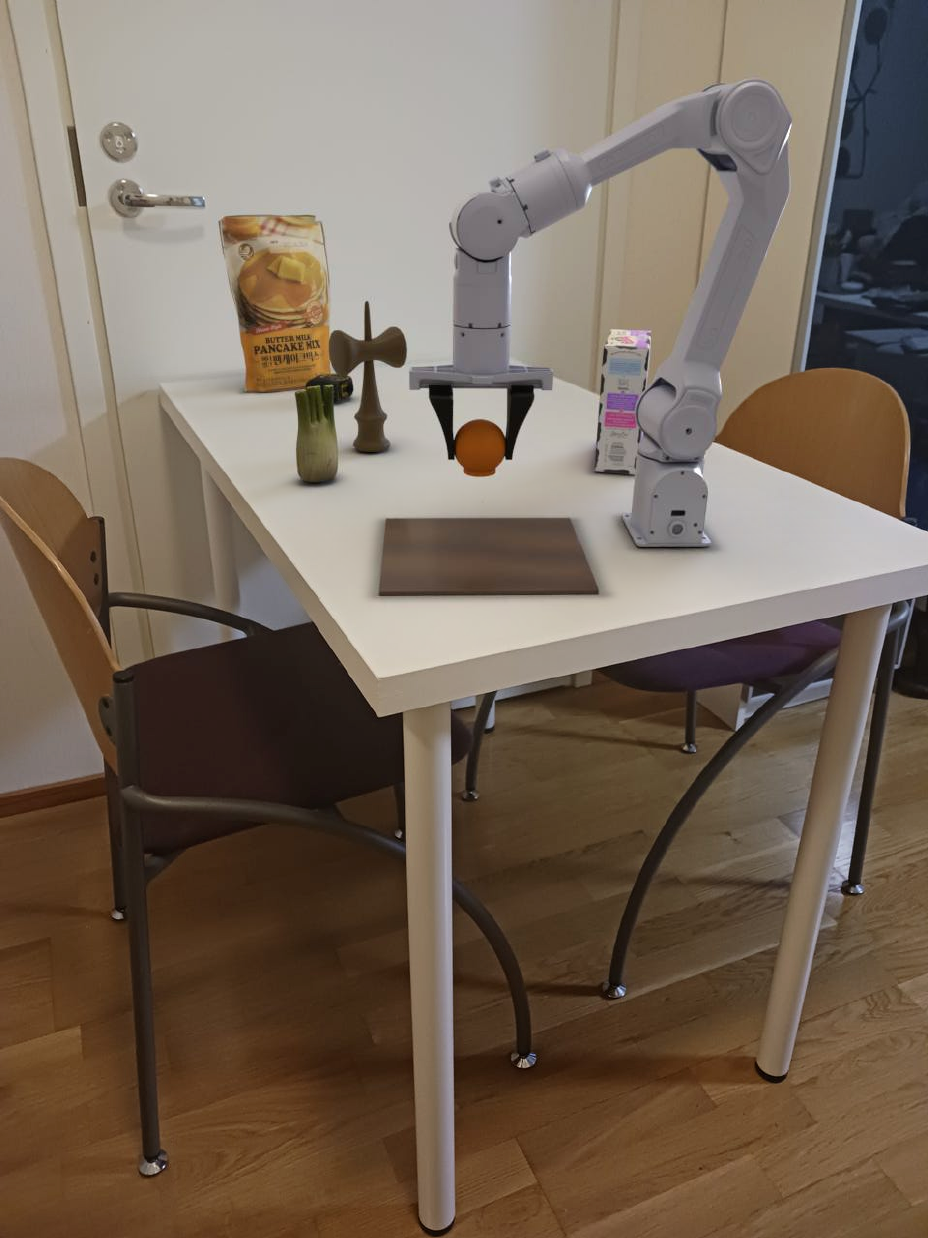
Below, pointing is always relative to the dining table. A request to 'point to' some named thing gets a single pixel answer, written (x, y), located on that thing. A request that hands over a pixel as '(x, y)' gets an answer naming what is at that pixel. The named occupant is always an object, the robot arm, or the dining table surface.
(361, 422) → the kendama
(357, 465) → the dining table surface
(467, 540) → the front mat
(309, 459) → the fennel bulb
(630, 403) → the candy box
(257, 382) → the pancake mix bag
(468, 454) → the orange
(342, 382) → the tape measure
